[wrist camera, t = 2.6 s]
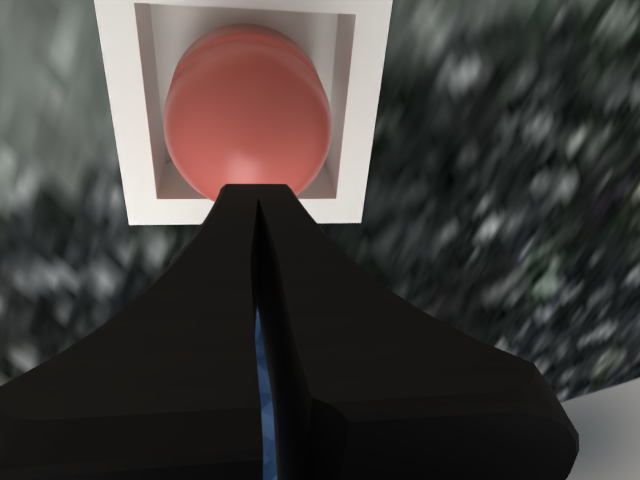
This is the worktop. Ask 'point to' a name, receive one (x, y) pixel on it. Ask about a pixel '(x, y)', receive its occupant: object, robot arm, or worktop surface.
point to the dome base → (183, 30)
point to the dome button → (246, 111)
